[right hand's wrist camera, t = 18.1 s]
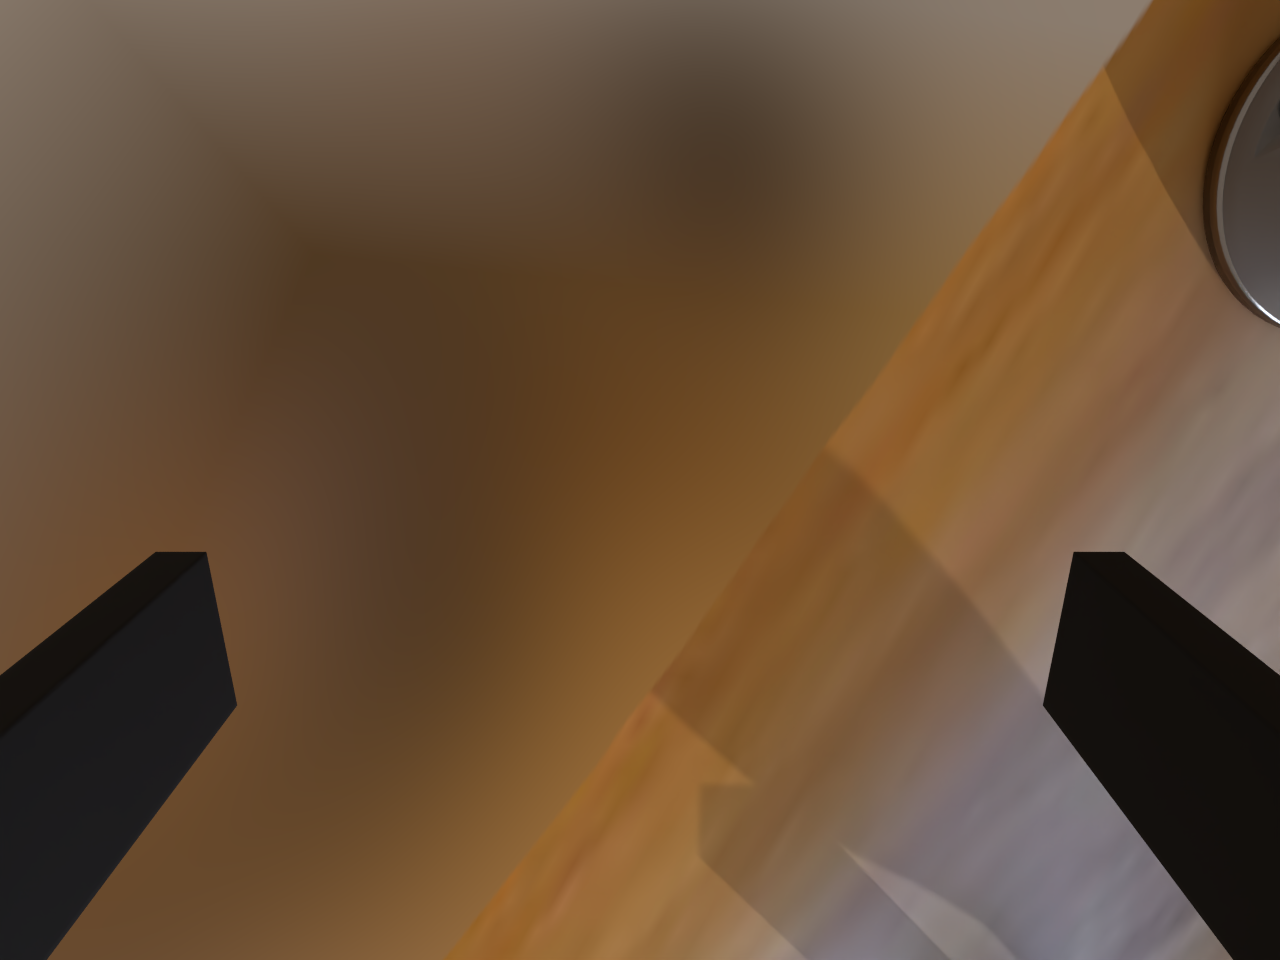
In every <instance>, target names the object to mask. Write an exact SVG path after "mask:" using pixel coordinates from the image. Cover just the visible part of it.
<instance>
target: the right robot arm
mask: <svg viewBox="0 0 1280 960" xmlns="http://www.w3.org/2000/svg"><path fill="white" fill-rule="evenodd" d="M1203 215H1204V227H1205V233H1206V239H1207V243H1208V247H1209V250H1210V254H1211V257H1212V259H1213V262H1214V264H1215V266H1216V269H1217V271H1218V273H1219V274H1220V276H1221V278H1222V280H1223V282H1224V283H1225V285H1226V286H1227V287H1228V289H1229V290H1230V291H1231V293H1232V294H1233V295H1234V296H1235V297H1236V298H1237V299H1238V300H1239V302H1240V303H1241V304H1242V305H1243V306H1245V307H1246V308H1247V309H1248V310H1250V311H1251V312H1252V313H1253V314H1255V315H1256V316H1258V317H1260V318H1261V319H1263V320H1264V321H1266V322H1268V323H1270V324H1272V325H1274V326H1277V327H1279V328H1280V38H1279V39H1278V40H1277V41H1276V42H1275V43H1274V44H1273V45H1272V46H1271V47H1270V48H1269V49H1268V50H1267V52H1266V53H1265V54H1264V55H1263V56H1262V57H1261V59H1260V60H1259V61H1258V62H1257V63H1256V65H1255V66H1254V68H1253V69H1252V70H1251V72H1250V73H1249V75H1248V76H1247V77H1246V79H1245V80H1244V82H1243V83H1242V85H1241V87H1240V88H1239V90H1238V91H1237V93H1236V95H1235V96H1234V98H1233V100H1232V102H1231V104H1230V106H1229V108H1228V110H1227V112H1226V114H1225V116H1224V118H1223V120H1222V123H1221V125H1220V127H1219V130H1218V132H1217V135H1216V138H1215V141H1214V144H1213V147H1212V150H1211V153H1210V157H1209V162H1208V166H1207V171H1206V177H1205V185H1204V197H1203ZM236 706H237V702H236V697H235V693H234V687H233V682H232V677H231V673H230V668H229V663H228V658H227V653H226V648H225V643H224V638H223V633H222V628H221V623H220V618H219V613H218V608H217V603H216V598H215V593H214V588H213V583H212V578H211V573H210V568H209V563H208V558H207V553H206V552H155V553H154V554H152V555H151V556H150V557H149V558H147V559H146V560H145V561H144V562H142V563H141V564H140V565H139V566H137V567H136V568H135V569H134V570H132V571H131V572H130V573H129V574H127V575H126V576H125V577H124V578H122V579H121V580H120V581H118V582H117V583H116V584H115V585H113V586H112V587H111V588H110V589H108V590H107V591H106V592H105V593H103V594H102V595H101V596H100V597H98V598H97V599H96V600H95V601H93V602H92V603H91V604H90V605H88V606H87V607H86V608H85V609H83V610H82V611H81V612H80V613H78V614H77V615H76V616H74V617H73V618H72V619H71V620H69V621H68V622H67V623H66V624H64V625H63V626H62V627H61V628H59V629H58V630H57V631H56V632H54V633H53V634H52V635H51V636H49V637H48V638H47V639H45V640H44V641H43V642H42V643H40V644H39V645H38V646H37V647H35V648H34V649H33V650H32V651H30V652H29V653H28V654H27V655H25V656H24V657H23V658H22V659H20V660H19V661H18V662H17V663H15V664H14V665H13V666H12V667H10V668H9V669H8V670H6V671H5V672H4V673H3V674H1V675H0V960H47V959H48V957H49V956H50V955H51V953H52V952H53V951H54V949H55V948H56V947H57V945H58V944H59V943H60V941H61V940H62V939H63V937H64V936H65V935H66V933H67V932H68V931H69V929H70V928H71V927H72V925H73V924H74V923H75V921H76V920H77V919H78V917H79V916H80V915H81V913H82V912H83V911H84V909H85V908H86V907H87V905H88V904H89V903H90V901H91V900H92V899H93V897H94V896H95V895H96V893H97V892H98V890H99V889H100V888H101V887H102V885H103V884H104V883H105V881H106V880H107V878H108V877H109V876H110V874H111V873H112V872H113V870H114V869H115V868H116V866H117V865H118V864H119V862H120V861H121V860H122V858H123V857H124V856H125V854H126V853H127V852H128V850H129V849H130V848H131V846H132V845H133V844H134V842H135V841H136V840H137V838H138V837H139V836H140V834H141V833H142V832H143V830H144V829H145V828H146V826H147V825H148V824H149V822H150V821H151V820H152V818H153V817H154V816H155V814H156V813H157V812H158V810H159V809H160V808H161V806H162V805H163V804H164V802H165V801H166V800H167V798H168V797H169V796H170V794H171V793H172V792H173V790H174V789H175V788H176V786H177V785H178V784H179V782H180V781H181V780H182V778H183V777H184V776H185V774H186V773H187V772H188V770H189V769H190V768H191V766H192V765H193V764H194V762H195V761H196V760H197V758H198V757H199V756H200V754H201V753H202V752H203V750H204V749H205V748H206V746H207V745H208V743H209V742H210V741H211V739H212V738H213V737H214V736H215V734H216V733H217V731H218V730H219V729H220V727H221V726H222V725H223V723H224V722H225V721H226V719H227V718H228V717H229V716H230V714H231V713H232V711H233V710H234V709H235V707H236ZM1043 706H1044V707H1045V709H1046V710H1047V712H1048V713H1049V714H1050V716H1051V717H1052V718H1053V720H1054V721H1055V722H1056V724H1057V725H1058V726H1059V728H1060V729H1061V730H1062V732H1063V733H1064V734H1065V736H1066V737H1067V738H1068V740H1069V741H1070V742H1071V744H1072V745H1073V746H1074V748H1075V749H1076V750H1077V752H1078V753H1079V754H1080V756H1081V757H1082V758H1083V760H1084V761H1085V762H1086V764H1087V765H1088V766H1089V768H1090V769H1091V770H1092V772H1093V773H1094V774H1095V776H1096V777H1097V778H1098V780H1099V781H1100V782H1101V784H1102V785H1103V786H1104V788H1105V789H1106V790H1107V792H1108V793H1109V794H1110V796H1111V797H1112V798H1113V800H1114V801H1115V802H1116V804H1117V805H1118V806H1119V808H1120V809H1121V810H1122V812H1123V813H1124V814H1125V816H1126V817H1127V818H1128V820H1129V821H1130V822H1131V824H1132V825H1133V826H1134V828H1135V829H1136V830H1137V832H1138V833H1139V834H1140V836H1141V837H1142V838H1143V840H1144V841H1145V842H1146V844H1147V845H1148V846H1149V848H1150V849H1151V850H1152V852H1153V853H1154V854H1155V856H1156V857H1157V858H1158V860H1159V861H1160V862H1161V864H1162V865H1163V866H1164V868H1165V869H1166V870H1167V872H1168V873H1169V874H1170V876H1171V877H1172V878H1173V880H1174V881H1175V883H1176V884H1177V885H1178V887H1179V888H1180V889H1181V891H1182V892H1183V893H1184V895H1185V896H1186V897H1187V899H1188V900H1189V901H1190V903H1191V904H1192V905H1193V907H1194V908H1195V909H1196V911H1197V912H1198V913H1199V915H1200V916H1201V917H1202V919H1203V920H1204V921H1205V923H1206V924H1207V925H1208V927H1209V928H1210V929H1211V931H1212V932H1213V933H1214V935H1215V936H1216V937H1217V939H1218V940H1219V941H1220V943H1221V944H1222V945H1223V947H1224V948H1225V949H1226V951H1227V952H1228V953H1229V955H1230V956H1231V957H1232V959H1233V960H1280V675H1279V674H1277V673H1276V672H1275V671H1274V670H1272V669H1271V668H1270V667H1268V666H1267V665H1266V664H1265V663H1263V662H1262V661H1261V660H1260V659H1258V658H1257V657H1256V656H1255V655H1253V654H1252V653H1251V652H1250V651H1248V650H1247V649H1246V648H1245V647H1243V646H1242V645H1241V644H1240V643H1238V642H1237V641H1236V640H1235V639H1233V638H1232V637H1231V636H1229V635H1228V634H1227V633H1226V632H1224V631H1223V630H1222V629H1221V628H1219V627H1218V626H1217V625H1216V624H1214V623H1213V622H1212V621H1211V620H1209V619H1208V618H1207V617H1206V616H1204V615H1203V614H1202V613H1201V612H1199V611H1198V610H1197V609H1195V608H1194V607H1193V606H1192V605H1190V604H1189V603H1188V602H1187V601H1185V600H1184V599H1183V598H1182V597H1180V596H1179V595H1178V594H1177V593H1175V592H1174V591H1173V590H1172V589H1170V588H1169V587H1168V586H1167V585H1165V584H1164V583H1163V582H1162V581H1160V580H1159V579H1158V578H1156V577H1155V576H1154V575H1153V574H1151V573H1150V572H1149V571H1148V570H1146V569H1145V568H1144V567H1143V566H1141V565H1140V564H1139V563H1138V562H1136V561H1135V560H1134V559H1133V558H1131V557H1130V556H1129V555H1128V554H1126V553H1125V552H1074V553H1073V558H1072V563H1071V568H1070V573H1069V578H1068V583H1067V588H1066V593H1065V598H1064V603H1063V608H1062V613H1061V618H1060V623H1059V628H1058V633H1057V638H1056V643H1055V648H1054V653H1053V658H1052V663H1051V667H1050V672H1049V677H1048V682H1047V687H1046V692H1045V697H1044V702H1043Z"/></svg>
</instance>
